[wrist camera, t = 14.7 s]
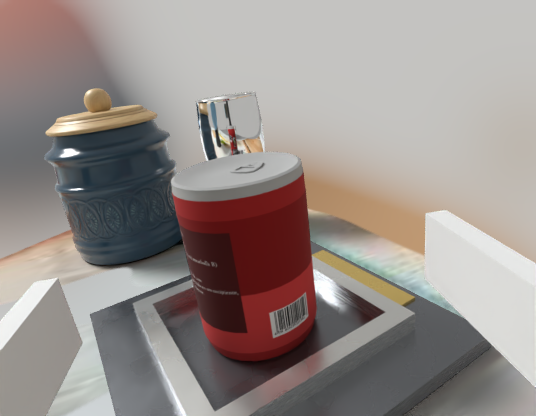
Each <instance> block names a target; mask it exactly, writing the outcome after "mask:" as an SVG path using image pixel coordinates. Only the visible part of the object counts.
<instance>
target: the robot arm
mask: <svg viewBox="0 0 536 416" xmlns="http://www.w3.org/2000/svg"><path fill="white" fill-rule="evenodd" d="M425 227H426V228H425V279H426V280H427V281H428V282H429V283H430V284H431V285H432V286H433V287H434V288H435V289H436V290H437V291H438V292H439V293H440V294H441V295H442V296H443V297H444V298H445V299H446V300H447V301H448V302H449V303H450V304H451V305H452V306H453V307H454V308H455V309H456V310H457V311H458V312H459V313H460V314H461V315H462V316H463V317H464V318H465V319H466V320H467V321H468V322H469V323H470V324H471V325H472V326H473V327H474V328H475V329H476V330H477V331H478V332H479V333H480V334H481V335H482V336H483V337H484V338H485V339H486V340H487V341H488V342H490V343H491V344H492V345H493V346H494V347H495V348H496V349H497V350H498V351H499V352H500V353H501V354H502V355H503V356H504V357H505V358H506V359H507V360H508V361H509V362H510V363H511V364H512V365H513V366H514V367H515V368H516V369H517V370H518V371H519V372H520V373H521V374H522V375H523V376H524V377H525V378H526V379H527V380H528V381H529V382H530V383H531V384H532V385H533V386H534V387H535V388H536V263H534V262H532V261H531V260H529V259H527V258H526V257H524V256H522V255H520V254H519V253H517V252H516V251H514V250H512V249H510V248H509V247H507V246H505V245H504V244H502V243H500V242H499V241H497V240H495V239H494V238H492V237H490V236H489V235H487V234H485V233H484V232H482V231H480V230H479V229H477V228H475V227H473V226H472V225H470V224H468V223H467V222H465V221H463V220H462V219H460V218H458V217H457V216H455V215H453V214H452V213H450V212H448V211H447V210H442V211H436V212H431V213H426V222H425ZM81 345H82V340H81V337H80V335H79V332H78V330H77V327H76V324H75V322H74V319H73V316H72V314H71V311H70V308H69V306H68V303H67V301H66V298H65V295H64V293H63V290H62V287H61V285H60V282H59V279H58V278H54V279H49V280H43V281H37V282H34V283H33V284H32V286H31V287H30V288H29V289H28V290H27V291H26V292H25V294H24V295H23V296H22V297H21V298H20V299H19V300H18V301H17V303H16V304H15V305H14V306H13V307H12V308H11V309H10V310H9V312H8V313H7V314H6V315H5V316H4V317H3V318H2V320H1V321H0V416H46V414H47V412H48V410H49V408H50V406H51V404H52V402H53V400H54V398H55V396H56V395H57V393H58V391H59V389H60V387H61V385H62V383H63V381H64V379H65V377H66V375H67V373H68V371H69V369H70V367H71V365H72V363H73V361H74V359H75V357H76V355H77V353H78V351H79V349H80V347H81Z"/></svg>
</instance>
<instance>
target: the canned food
mask: <svg viewBox="0 0 536 416" xmlns="http://www.w3.org/2000/svg"><path fill="white" fill-rule="evenodd" d="M171 185H172V195H173V199H174V204H175V210H176V214H177V218H178V223H179V227H180V231H181V235H182V240H183V244H184V248H185V252H186V257H187V261H188V265H189V269H190V274H191V278H192V282H193V286H194V291H195V295H196V299H197V303H198V308H199V312H200V316H201V320H202V325H203V329H204V332H205V335H206V337H207V338H208V340H209V341H210V343H211V344H212V345H213V347H214V348H215V349H216V350H217V351H218V352H219V353H221V354H222V355H224V356H226V357H229V358H231V359H235V360H240V361H260V360H267V359H271V358H274V357H278V356H280V355H282V354H285V353H287V352H289V351H290V350H292V349H294V348H295V347H297V346H298V345H299V344H300V343H301V342H303V341H304V340H305V339H306V337H307V336H308V335H309V333H310V332H311V329H312V327H313V325H314V320H315V316H316V310H317V305H316V295H315V284H314V273H313V263H312V252H311V242H310V231H309V221H308V210H307V199H306V189H305V183H304V173H303V168H302V163H301V159H300V158H299V157H297V156H295V155H292V154H288V153H282V152H255V153H245V154H237V155H231V156H226V157H221V158H216V159H213V160H209V161H205V162H202V163H199V164H196V165H193V166H191V167H188V168H186V169H184V170H182V171H181V172H179V173H178V174H176V175H175V176H174V177H173V178H172V180H171Z"/></svg>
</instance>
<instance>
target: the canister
mask: <svg viewBox="0 0 536 416" xmlns="http://www.w3.org/2000/svg"><path fill="white" fill-rule="evenodd" d="M84 103H85V106H86V108H87V109H88V110H89V111H90V112H84V113H79V114H74V115H69V116H64V117H60V118H58V119H57V121H56V123H55V124H54V125H53V126H52V127H51V128H50V129H49V130H47V131H46V135H47V136H51V137H53V147H52V148H51V149H50V150H49V151H48V153H46V155H45V160H46V161H47V162H49V163H50V164H52V165H53V166H54V169H55V172H56V176H57V181H58V183H57V184H56V186H55V190H56V191H57V192H58V193H59V196H60V198H61V201H62V204H63V207H64V210H65V213H66V215H67V219H68V221H69V224H70V227H71V230H72V233H73V241H74V243H75V247H76V249H77V250H78V251H79V253H80V254H81V256H82V258H83V259H84V260H85V261H87V262H89V263H92V264H99V265H113V264H122V263H127V262H132V261H136V260H140V259H143V258H147V257H150V256H152V255H155V254H157V253H160V252H162V251H164V250H166V249H168V248H170V247H172V246H173V245H175V244H176V243H178V242H179V241H180V240H181V239H182V235H181V231H180V227H179V223H178V218H177V214H176V210H175V204H174V199H173V195H172V185H171V180H172V178H173V177H174V176H175V175H176V174H177V173H176V168H175V167H176V162H175V160H173V159H171V157H170V154H169V151H168V148H167V141H168V139H169V137H170V134H169V133H168V132H166V131H164V130H162V129H160V128H158V127H157V125H156V124H155V122H154V120H153V119H155V118H156V117H157V114H156V113H155V112H152V111H149V110H147V109H145V108H143V107H142V106H141V105H132V106H124V107H116V108H111V99H110V96H109V95H108V94H107V93H106V92H105V91H104V90H102V89H91V90H89V91H87V93H86V94H85V97H84Z"/></svg>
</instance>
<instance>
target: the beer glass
mask: <svg viewBox="0 0 536 416" xmlns="http://www.w3.org/2000/svg"><path fill="white" fill-rule="evenodd" d="M196 106H197V115H198V124H199V131H200V137H201V142H202V146H203V151H204V154H205V157H206V160H207V161H209V160H213V159H216V158H221V157H226V156H231V155H237V154H245V153H255V152H265V151H264V150H265V149H264V134H263V127H262V121H261V116H260V111H259V106H258V102H257V97H256V92H244V93H235V94H228V95H221V96H215V97H210V98H204V99H200V100H197V101H196Z"/></svg>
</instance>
